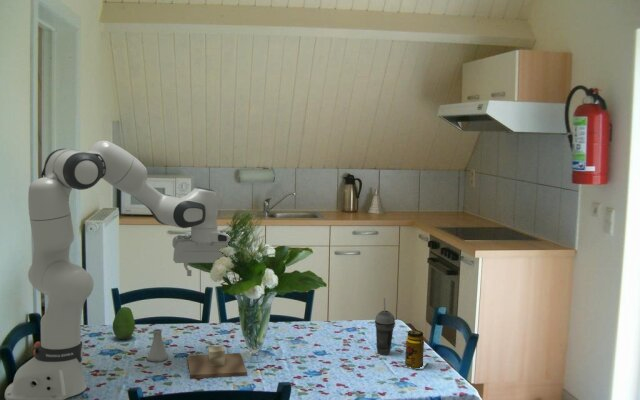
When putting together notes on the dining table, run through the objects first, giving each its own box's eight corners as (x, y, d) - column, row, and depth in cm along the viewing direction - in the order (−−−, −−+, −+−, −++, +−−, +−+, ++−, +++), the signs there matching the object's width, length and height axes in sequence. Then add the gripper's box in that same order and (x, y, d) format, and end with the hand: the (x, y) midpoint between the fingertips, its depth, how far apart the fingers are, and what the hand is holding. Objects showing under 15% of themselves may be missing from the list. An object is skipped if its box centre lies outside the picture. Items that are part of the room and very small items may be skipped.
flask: (162, 363, 230) (163, 334, 229) (142, 361, 231) (142, 332, 230) (171, 356, 237) (171, 328, 236) (152, 354, 238) (152, 326, 237)
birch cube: (209, 366, 225) (209, 351, 224) (208, 361, 230) (208, 346, 229) (224, 365, 226) (224, 351, 225) (223, 360, 231) (223, 346, 230)
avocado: (139, 338, 255) (139, 306, 253) (123, 343, 248) (123, 311, 247) (123, 334, 259) (123, 303, 257) (107, 339, 252) (107, 307, 251)
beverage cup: (378, 357, 242) (381, 302, 240) (369, 350, 249) (372, 297, 247) (397, 355, 245) (399, 300, 243) (387, 349, 252) (390, 295, 249)
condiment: (401, 367, 234) (402, 332, 232) (408, 359, 241) (410, 326, 240) (421, 371, 231) (423, 336, 229) (428, 363, 238) (430, 329, 237)
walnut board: (190, 378, 217) (190, 374, 217) (187, 359, 235) (187, 355, 234) (247, 375, 221) (247, 371, 221) (240, 356, 239) (240, 353, 239)
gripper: (172, 236, 227) (172, 277, 228) (234, 236, 231) (233, 277, 233) (172, 233, 233) (171, 273, 235) (233, 233, 237) (232, 273, 239)
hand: (203, 275), depth 234 cm, fingers open, 8 cm apart
